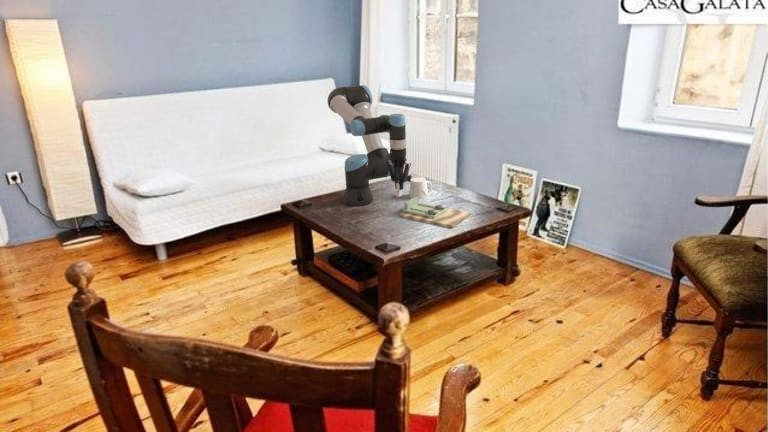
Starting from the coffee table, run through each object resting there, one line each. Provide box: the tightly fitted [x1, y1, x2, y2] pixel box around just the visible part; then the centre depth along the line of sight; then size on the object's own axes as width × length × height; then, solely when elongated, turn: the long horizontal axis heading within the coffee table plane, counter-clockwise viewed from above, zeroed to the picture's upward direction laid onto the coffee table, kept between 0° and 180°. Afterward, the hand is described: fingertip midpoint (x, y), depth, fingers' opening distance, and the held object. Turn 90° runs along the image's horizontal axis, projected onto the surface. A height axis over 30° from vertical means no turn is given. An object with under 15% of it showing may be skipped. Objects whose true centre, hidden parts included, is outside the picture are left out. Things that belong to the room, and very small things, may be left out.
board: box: [399, 204, 472, 229], centre depth 234 cm, size 28×18×4 cm, turn 55°
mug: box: [408, 176, 433, 200], centre depth 259 cm, size 12×9×8 cm
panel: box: [402, 197, 448, 218], centre depth 236 cm, size 17×12×4 cm
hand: (399, 195), depth 243 cm, fingers closed
